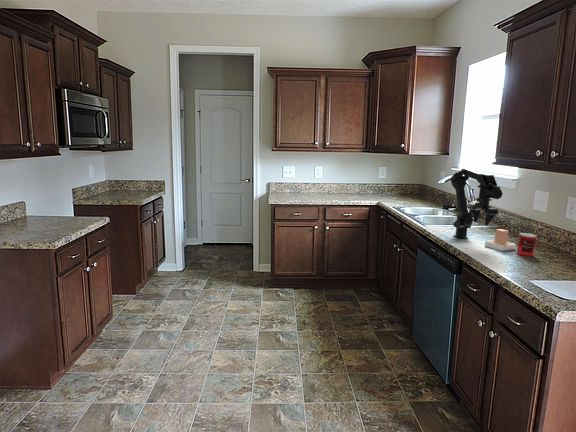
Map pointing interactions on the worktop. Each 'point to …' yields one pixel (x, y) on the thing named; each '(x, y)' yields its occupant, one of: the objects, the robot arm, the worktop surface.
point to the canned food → (526, 244)
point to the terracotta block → (501, 237)
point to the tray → (500, 246)
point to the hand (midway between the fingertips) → (480, 223)
